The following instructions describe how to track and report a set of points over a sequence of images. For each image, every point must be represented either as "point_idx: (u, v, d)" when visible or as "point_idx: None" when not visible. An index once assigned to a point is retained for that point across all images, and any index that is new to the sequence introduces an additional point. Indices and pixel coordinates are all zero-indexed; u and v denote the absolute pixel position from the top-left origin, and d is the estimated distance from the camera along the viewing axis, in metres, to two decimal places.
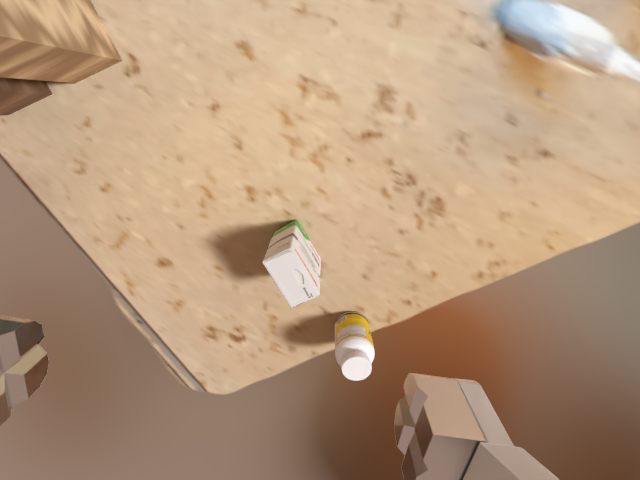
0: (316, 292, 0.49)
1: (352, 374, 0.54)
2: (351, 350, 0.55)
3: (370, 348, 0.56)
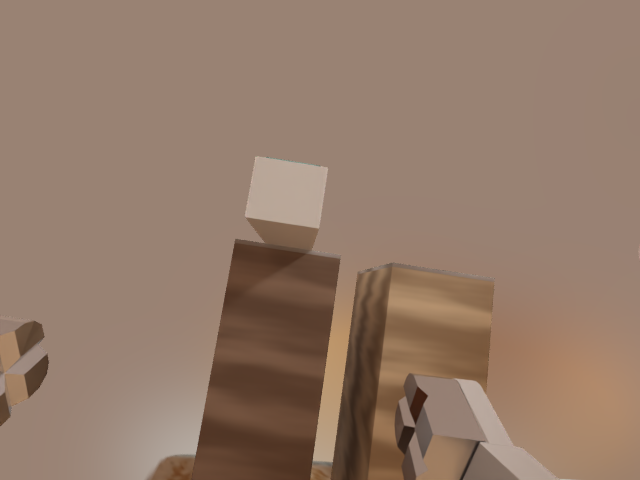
0: None
1: None
2: None
3: None
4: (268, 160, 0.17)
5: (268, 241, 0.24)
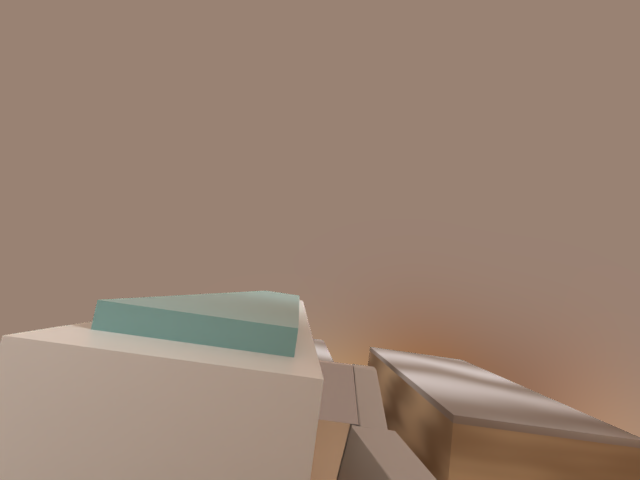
0: None
1: None
2: None
3: None
4: (57, 354, 0.04)
5: None
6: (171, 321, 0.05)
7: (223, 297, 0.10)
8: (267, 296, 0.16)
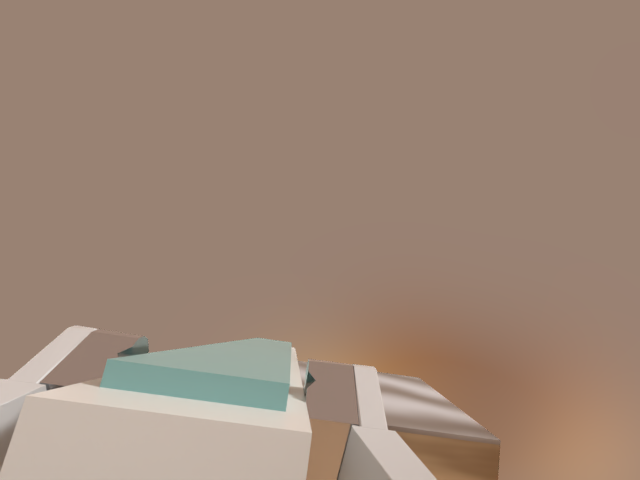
0: None
1: None
2: None
3: None
4: (74, 413, 0.04)
5: None
6: (174, 378, 0.05)
7: (217, 349, 0.10)
8: (259, 345, 0.16)
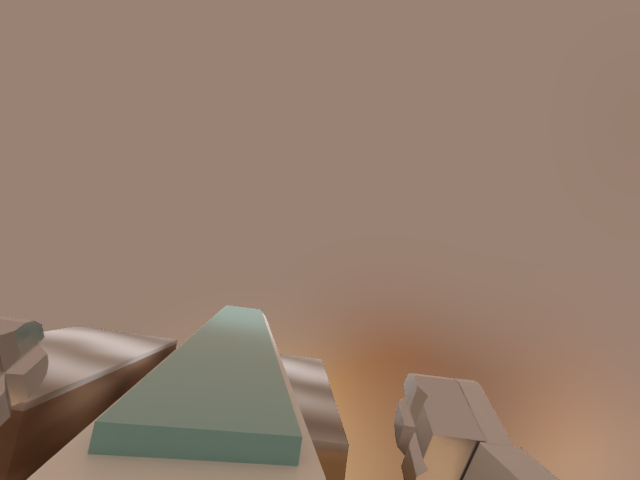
0: None
1: None
2: None
3: None
4: None
5: None
6: (175, 439, 0.05)
7: (200, 352, 0.10)
8: (236, 327, 0.16)
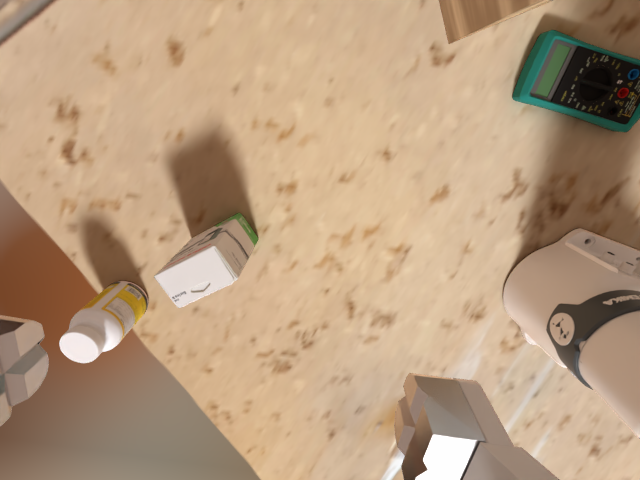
0: (181, 305, 0.39)
1: (68, 343, 0.42)
2: (102, 333, 0.43)
3: (109, 349, 0.46)
4: None
5: None
6: None
7: None
8: None
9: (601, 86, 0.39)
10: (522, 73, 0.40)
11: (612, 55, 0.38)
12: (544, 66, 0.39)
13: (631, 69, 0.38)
